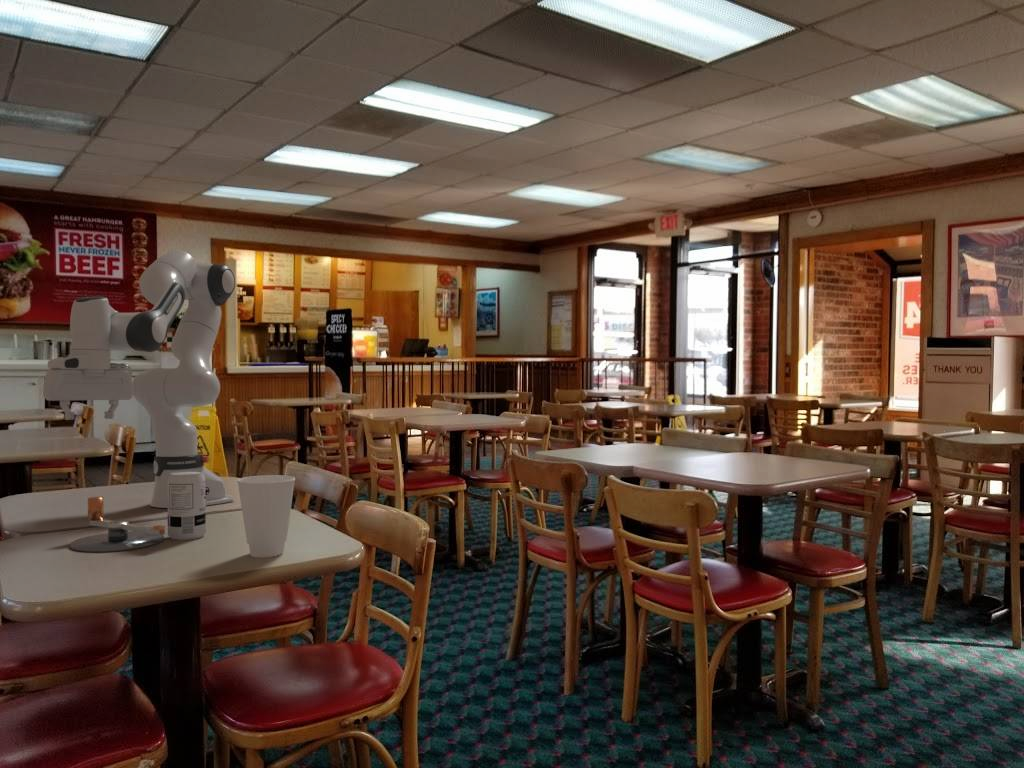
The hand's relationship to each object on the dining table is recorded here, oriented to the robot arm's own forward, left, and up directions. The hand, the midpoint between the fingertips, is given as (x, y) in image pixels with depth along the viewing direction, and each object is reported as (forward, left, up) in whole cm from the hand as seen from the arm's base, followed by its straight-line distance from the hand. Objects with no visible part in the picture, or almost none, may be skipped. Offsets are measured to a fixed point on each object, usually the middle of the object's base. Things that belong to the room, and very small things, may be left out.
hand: (89, 419), depth 197 cm
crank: (-2, +23, -24) cm, 33 cm away
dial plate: (-1, +20, -27) cm, 34 cm away
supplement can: (-15, +24, -27) cm, 39 cm away
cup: (-22, +52, -27) cm, 63 cm away
